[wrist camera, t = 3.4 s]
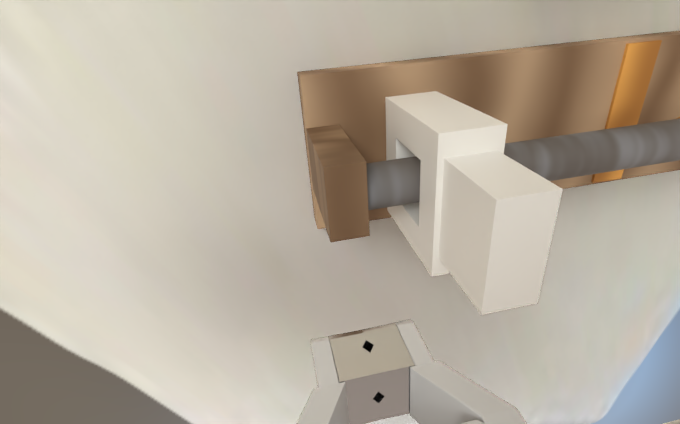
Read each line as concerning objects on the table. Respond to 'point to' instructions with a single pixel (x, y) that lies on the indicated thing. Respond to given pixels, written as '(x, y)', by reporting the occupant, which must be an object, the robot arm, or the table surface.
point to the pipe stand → (500, 103)
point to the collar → (472, 201)
